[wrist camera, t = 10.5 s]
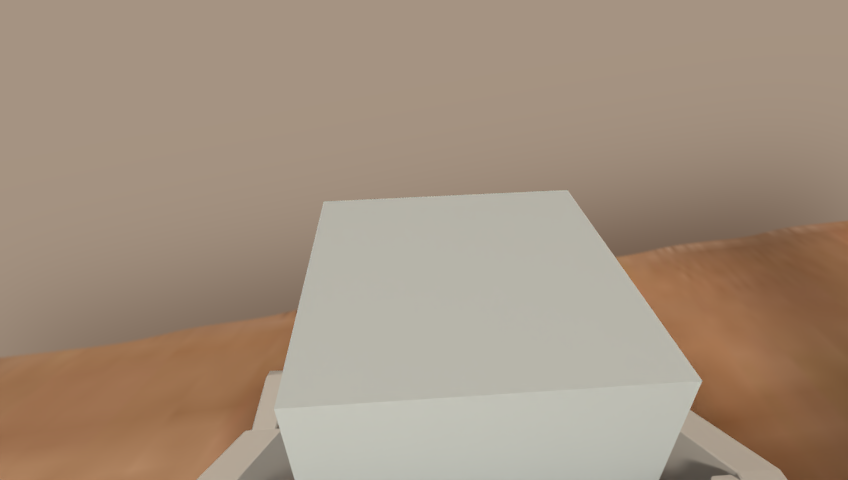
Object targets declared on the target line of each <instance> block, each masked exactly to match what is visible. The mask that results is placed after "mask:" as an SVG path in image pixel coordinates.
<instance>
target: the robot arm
mask: <svg viewBox="0 0 848 480" xmlns="http://www.w3.org/2000/svg"><path fill="white" fill-rule="evenodd" d="M282 373H283V370H282V371H270V372H269V374H268V375H267V377H266V380H265V384H264V387H263V391H262V394H261V398H260V402H259V405H258V409H257V412H256V416H255V420H254V423H253V427H252V430H248V431H244V432H243V433H242V434H241V435H240V436H239V437H238V438H237V439H236V440H235V441H234V442H233V443H232V445H231V446H230V447H229V448H228V449H227V450H226V451H225V452H224V453H223V454H222V455H221V456H220V457H219V458H218V459H217V460H216V461H215V462H214V463H213V464H212V465H211V466H210V467H209V468H208V469H207V470H206V471H205V472H204V473H203V474H202V475H201V476H200V477H199V478H198V479H197V480H295V479H294V476H293V473H292V469H291V466H290V462H289V459H288V456H287V452H286V449H285V445H284V442H283V439H282V435H281V432H280V428H279V425H278V421H277V418H276V415H275V411H274V406H275V402H276V398H277V394H278V390H279V385H280V381H281V377H282ZM659 480H787V478H786V477H785V476H784V474H783V473H782V472H781V470H780V469H778V468H777V467H775V466H774V465H772V464H771V463H769V462H768V461H766V460H765V459H763V458H762V457H760V456H759V455H757V454H756V453H754V452H753V451H751V450H750V449H748V448H747V447H745V446H744V445H742V444H741V443H739V442H738V441H736V440H735V439H733V438H732V437H730V436H729V435H727V434H726V433H724V432H723V431H721V430H720V429H718V428H717V427H715V426H714V425H712V424H711V423H709V422H708V421H706V420H705V419H703V418H702V417H700V416H699V415H697V414H696V413H694V412H693V411H691V410H689V412H688V415H687V417H686V419H685V421H684V424H683V426H682V428H681V431H680V433H679V435H678V438H677V440H676V442H675V444H674V447H673V449H672V451H671V454H670V456H669V458H668V460H667V463H666V465H665V467H664V470H663V472H662V474H661V476H660V479H659Z"/></svg>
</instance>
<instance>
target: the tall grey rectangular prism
mask: <svg viewBox="0 0 848 480" xmlns="http://www.w3.org/2000/svg"><path fill="white" fill-rule="evenodd" d="M701 383H702V380H701V378H700V377H699V376H698V374H697V373H696V371H695V370H694V368H693V367H692V366H691V364H690V363H689V361H688V360H687V359H686V357H685V356H684V354H683V353H682V351H681V350H680V349H679V347H678V346H677V344H676V343H675V342H674V340H673V339H672V337H671V336H670V334H669V333H668V332H667V330H666V329H665V327H664V326H663V325H662V323H661V322H660V320H659V319H658V317H657V316H656V315H655V313H654V312H653V310H652V309H651V308H650V306H649V305H648V303H647V302H646V300H645V299H644V298H643V296H642V295H641V293H640V292H639V291H638V289H637V288H636V286H635V285H634V284H633V282H632V281H631V279H630V278H629V276H628V275H627V274H626V272H625V271H624V269H623V268H622V267H621V265H620V264H619V262H618V261H617V259H616V258H615V257H614V255H613V254H612V253H611V251H610V250H609V248H608V247H607V245H606V244H605V242H604V241H603V240H602V238H601V237H600V235H599V234H598V233H597V231H596V230H595V228H594V227H593V226H592V224H591V223H590V221H589V220H588V219H587V217H586V216H585V214H584V213H583V211H582V210H581V209H580V207H579V206H578V205H577V203H576V202H575V200H574V199H573V197H572V196H571V194H570V193H569V192H568V190H561V191H540V192H517V193H497V194H476V195H454V196H435V197H434V196H432V197H411V198H391V199H370V200H348V201H326V202H324V203H323V207H322V211H321V215H320V219H319V224H318V228H317V232H316V236H315V240H314V244H313V248H312V252H311V257H310V261H309V265H308V269H307V273H306V278H305V282H304V286H303V290H302V294H301V298H300V302H299V307H298V311H297V315H296V319H295V323H294V327H293V331H292V336H291V340H290V344H289V348H288V352H287V356H286V361H285V365H284V369H283V373H282V377H281V381H280V385H279V390H278V394H277V398H276V402H275V406H274V411H275V415H276V418H277V421H278V425H279V428H280V432H281V435H282V439H283V442H284V445H285V449H286V452H287V456H288V459H289V462H290V466H291V469H292V473H293V476H294V479H295V480H659V479H660V476H661V474H662V472H663V470H664V467H665V465H666V463H667V460H668V458H669V456H670V454H671V451H672V449H673V447H674V444H675V442H676V440H677V438H678V435H679V433H680V431H681V428H682V426H683V424H684V421H685V419H686V417H687V415H688V412H689V410H690V408H691V405H692V403H693V401H694V399H695V396H696V394H697V392H698V389H699V387H700V385H701Z"/></svg>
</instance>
